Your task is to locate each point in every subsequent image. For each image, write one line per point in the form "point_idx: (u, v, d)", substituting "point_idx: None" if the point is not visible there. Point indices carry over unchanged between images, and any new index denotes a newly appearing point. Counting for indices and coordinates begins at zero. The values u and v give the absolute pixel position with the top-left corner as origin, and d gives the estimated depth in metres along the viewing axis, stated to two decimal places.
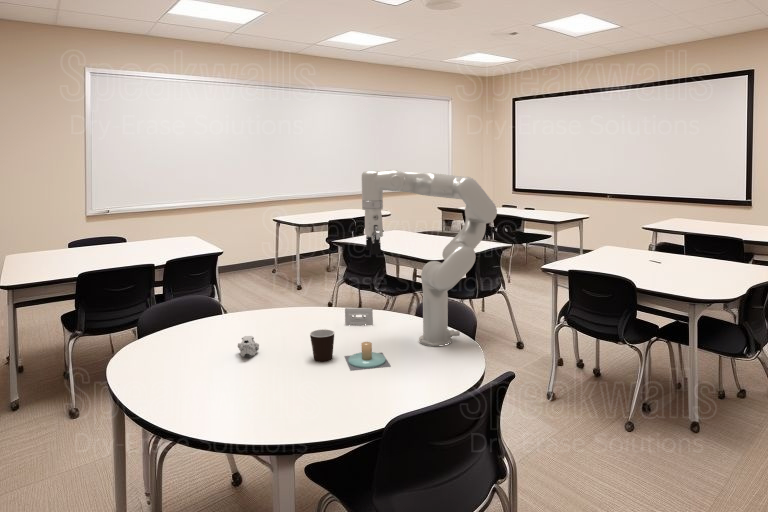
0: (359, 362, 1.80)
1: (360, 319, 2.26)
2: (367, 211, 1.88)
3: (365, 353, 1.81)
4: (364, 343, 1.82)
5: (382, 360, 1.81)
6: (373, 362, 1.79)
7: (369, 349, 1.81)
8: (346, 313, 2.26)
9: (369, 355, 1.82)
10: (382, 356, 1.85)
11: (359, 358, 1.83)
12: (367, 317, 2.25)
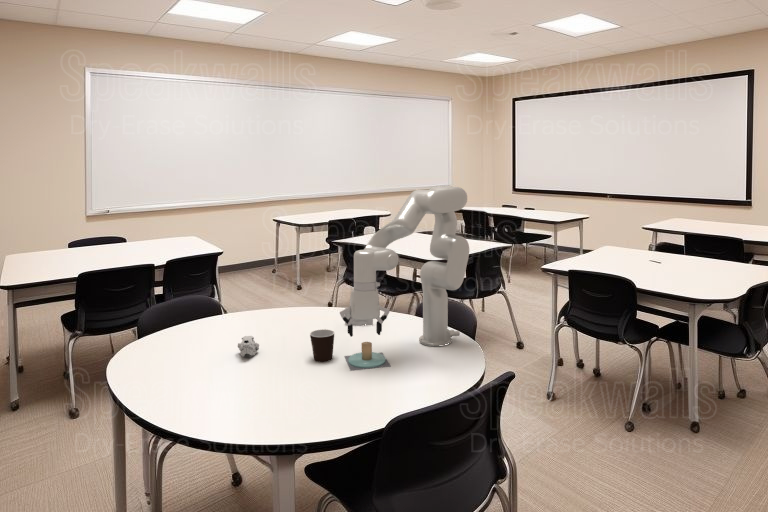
0: (359, 362, 1.80)
1: None
2: (372, 293, 1.77)
3: (365, 353, 1.81)
4: (364, 343, 1.82)
5: (382, 360, 1.81)
6: (373, 362, 1.79)
7: (369, 349, 1.81)
8: (346, 313, 2.26)
9: (369, 355, 1.82)
10: (382, 356, 1.85)
11: (359, 358, 1.83)
12: None
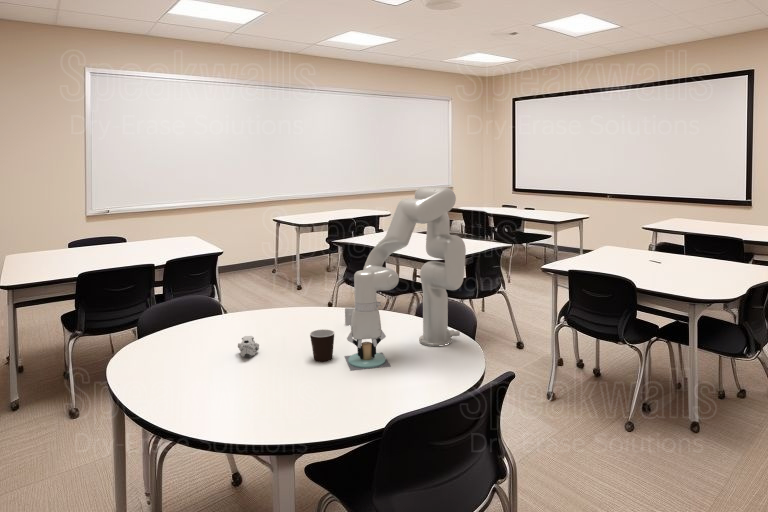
0: (359, 362, 1.80)
1: None
2: (373, 313, 1.79)
3: (365, 353, 1.81)
4: (364, 343, 1.82)
5: (382, 360, 1.81)
6: (373, 362, 1.79)
7: (369, 349, 1.81)
8: (346, 313, 2.26)
9: (369, 355, 1.82)
10: (382, 356, 1.85)
11: (359, 358, 1.83)
12: None
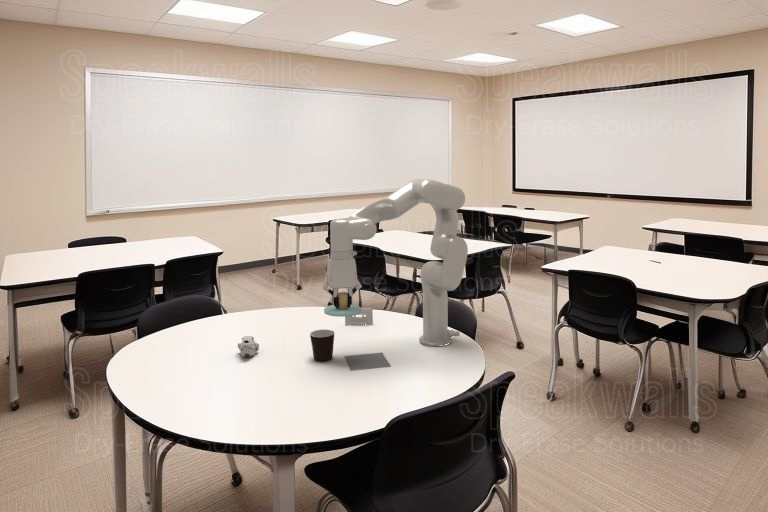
0: (335, 311, 1.79)
1: (360, 319, 2.26)
2: (349, 261, 1.78)
3: (341, 303, 1.80)
4: (340, 293, 1.81)
5: (358, 310, 1.80)
6: (349, 311, 1.79)
7: (345, 298, 1.80)
8: None
9: (345, 305, 1.81)
10: (358, 307, 1.84)
11: (335, 308, 1.82)
12: (367, 317, 2.25)
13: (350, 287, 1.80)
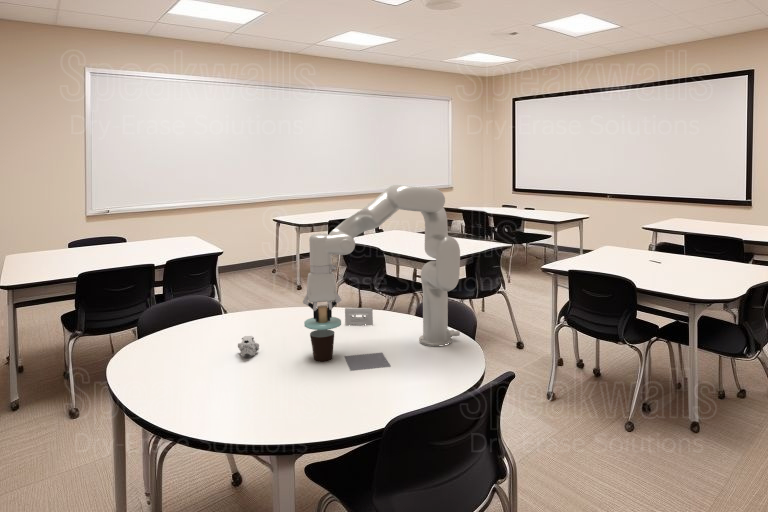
0: (315, 324, 1.82)
1: (360, 319, 2.26)
2: (328, 275, 1.81)
3: (320, 316, 1.84)
4: (320, 306, 1.85)
5: (337, 323, 1.84)
6: (328, 324, 1.82)
7: (324, 312, 1.84)
8: (346, 313, 2.26)
9: (324, 318, 1.84)
10: (338, 320, 1.87)
11: (315, 321, 1.86)
12: (367, 317, 2.25)
13: (329, 301, 1.83)
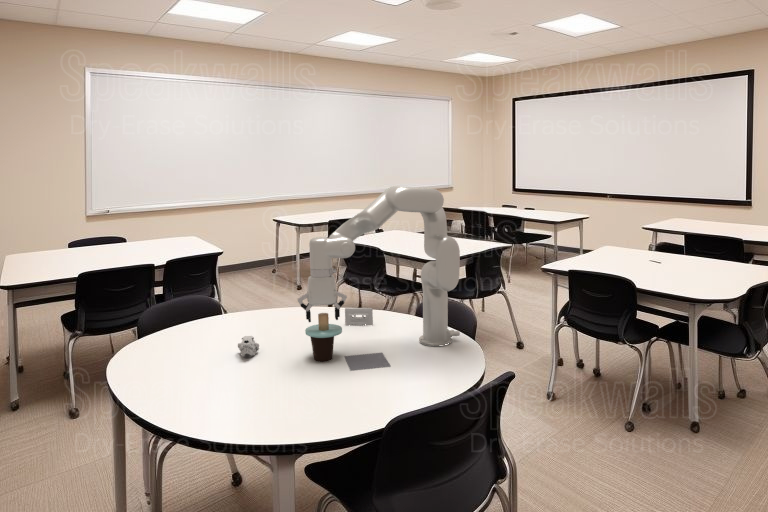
0: (316, 332, 1.83)
1: (360, 319, 2.26)
2: (328, 279, 1.81)
3: (321, 324, 1.84)
4: (321, 314, 1.85)
5: (338, 330, 1.84)
6: (329, 332, 1.83)
7: (325, 320, 1.84)
8: (346, 313, 2.26)
9: (325, 325, 1.85)
10: (339, 327, 1.88)
11: (316, 329, 1.86)
12: (367, 317, 2.25)
13: (330, 304, 1.84)
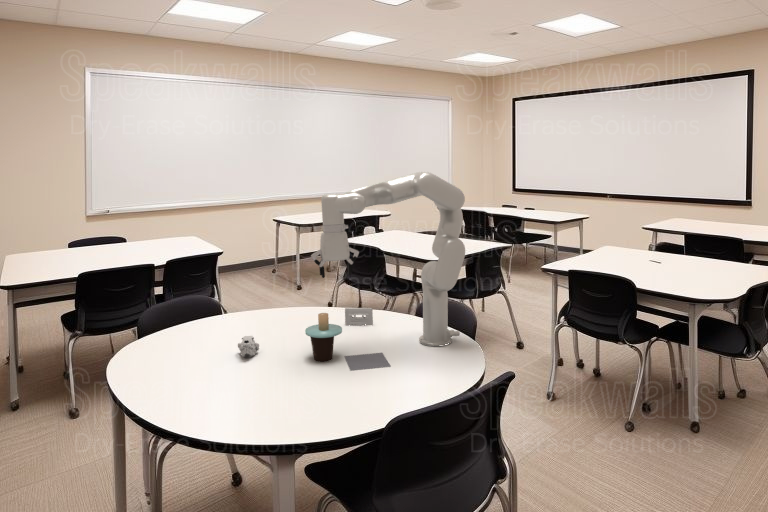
0: (315, 332, 1.83)
1: (360, 319, 2.26)
2: (341, 234, 1.85)
3: (321, 324, 1.84)
4: (321, 314, 1.85)
5: (338, 330, 1.84)
6: (329, 332, 1.83)
7: (325, 320, 1.84)
8: (346, 313, 2.26)
9: (325, 326, 1.85)
10: (339, 327, 1.88)
11: (316, 329, 1.86)
12: (367, 317, 2.25)
13: (343, 259, 1.88)
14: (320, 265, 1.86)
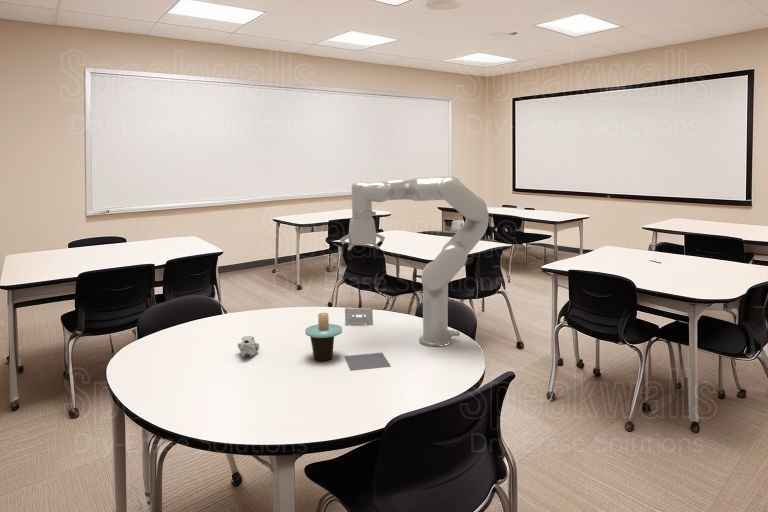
0: (315, 332, 1.83)
1: (360, 319, 2.26)
2: (369, 220, 1.99)
3: (321, 324, 1.84)
4: (321, 314, 1.85)
5: (338, 330, 1.84)
6: (329, 332, 1.82)
7: (325, 320, 1.84)
8: (346, 313, 2.26)
9: (325, 326, 1.85)
10: (339, 327, 1.88)
11: (316, 329, 1.86)
12: (367, 317, 2.25)
13: None
14: (348, 248, 2.00)
